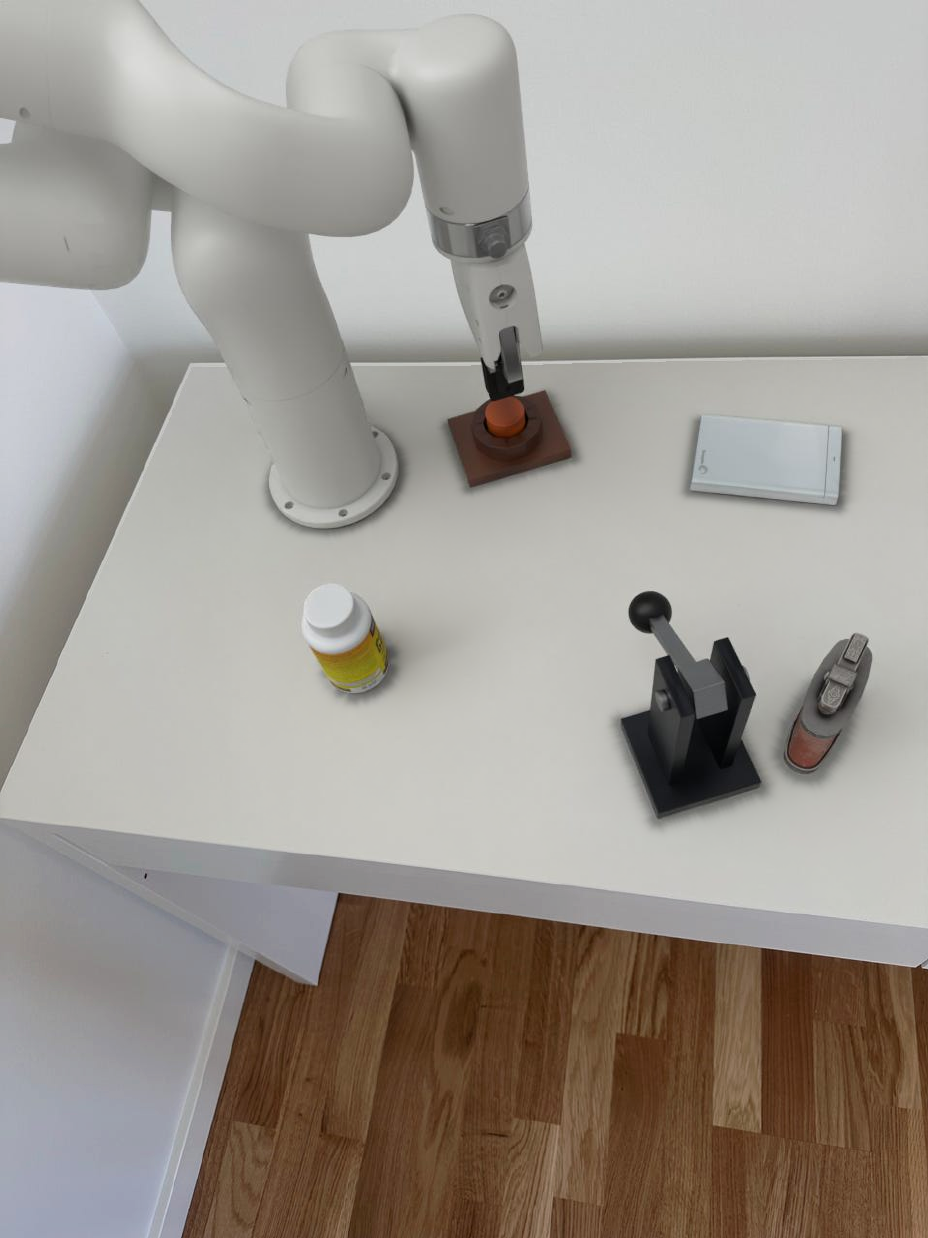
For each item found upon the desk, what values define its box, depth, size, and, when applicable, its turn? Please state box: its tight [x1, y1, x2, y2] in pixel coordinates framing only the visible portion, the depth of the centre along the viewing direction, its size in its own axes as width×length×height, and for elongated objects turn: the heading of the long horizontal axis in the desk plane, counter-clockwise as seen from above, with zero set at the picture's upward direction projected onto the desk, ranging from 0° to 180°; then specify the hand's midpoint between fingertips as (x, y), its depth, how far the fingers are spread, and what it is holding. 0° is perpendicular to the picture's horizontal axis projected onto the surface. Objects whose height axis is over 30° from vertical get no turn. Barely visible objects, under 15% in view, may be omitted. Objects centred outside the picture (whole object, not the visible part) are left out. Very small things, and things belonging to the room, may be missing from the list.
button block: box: [446, 389, 572, 488], centre depth 87 cm, size 10×8×3 cm
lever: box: [627, 590, 728, 719], centre depth 64 cm, size 13×3×3 cm, turn 15°
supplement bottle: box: [300, 583, 390, 694], centre depth 74 cm, size 6×6×10 cm
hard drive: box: [689, 412, 843, 506], centre depth 82 cm, size 2×8×12 cm
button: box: [485, 397, 525, 438], centre depth 85 cm, size 4×4×2 cm
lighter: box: [783, 632, 873, 775], centre depth 66 cm, size 8×3×10 cm, turn 148°
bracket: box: [620, 636, 762, 820], centre depth 64 cm, size 8×8×14 cm
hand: (505, 390), depth 82 cm, fingers closed
